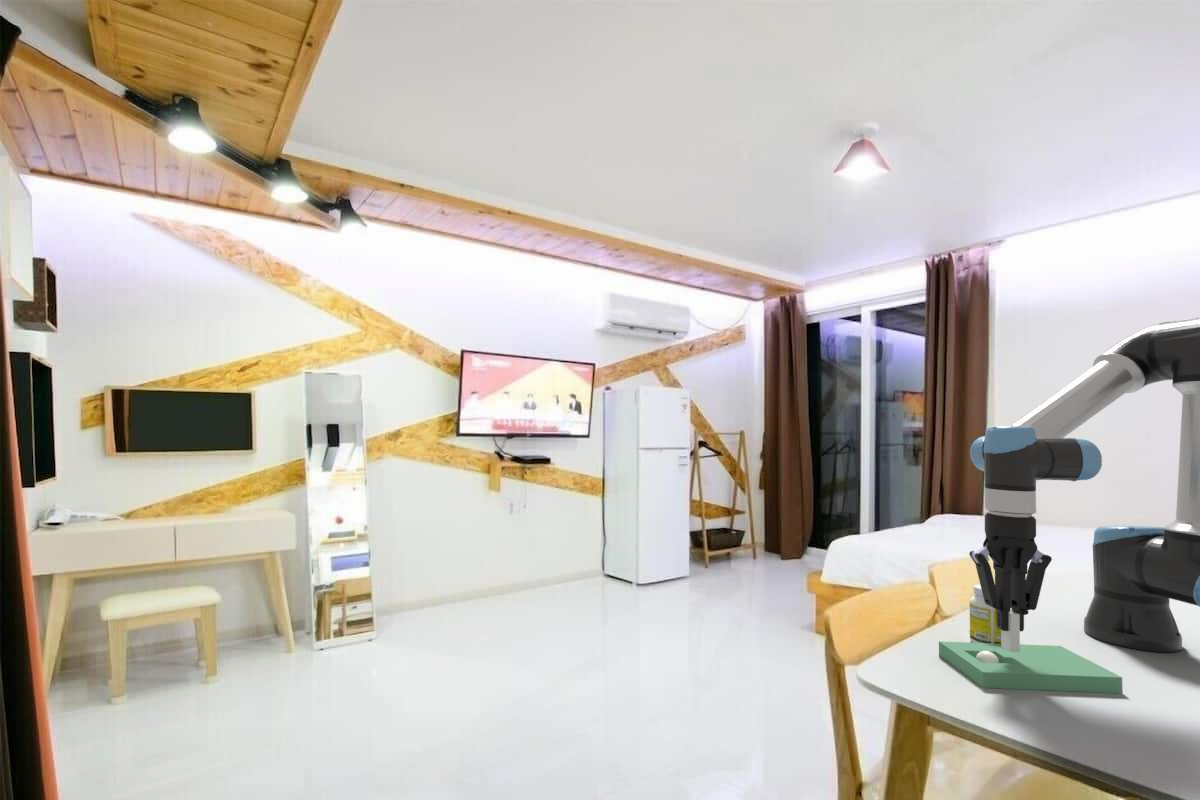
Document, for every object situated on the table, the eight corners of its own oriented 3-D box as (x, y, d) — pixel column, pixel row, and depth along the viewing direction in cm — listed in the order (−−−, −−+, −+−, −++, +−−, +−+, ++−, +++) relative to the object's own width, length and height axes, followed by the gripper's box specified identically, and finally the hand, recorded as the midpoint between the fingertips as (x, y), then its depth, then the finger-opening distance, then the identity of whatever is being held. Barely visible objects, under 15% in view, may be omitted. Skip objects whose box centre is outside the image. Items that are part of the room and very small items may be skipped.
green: (1060, 659, 112) (1060, 645, 112) (1122, 693, 98) (1122, 677, 98) (938, 655, 113) (938, 641, 113) (982, 687, 99) (982, 672, 99)
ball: (995, 653, 107) (977, 644, 107) (1007, 661, 104) (988, 651, 104) (986, 671, 107) (968, 661, 107) (998, 679, 104) (979, 669, 104)
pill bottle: (1001, 641, 121) (1001, 585, 122) (1011, 651, 115) (1011, 593, 116) (966, 636, 123) (966, 582, 124) (974, 647, 117) (973, 589, 118)
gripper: (1033, 511, 110) (1034, 642, 109) (960, 509, 111) (960, 640, 110) (1063, 517, 102) (1064, 659, 102) (984, 515, 103) (984, 656, 102)
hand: (1010, 649), depth 106 cm, fingers closed
